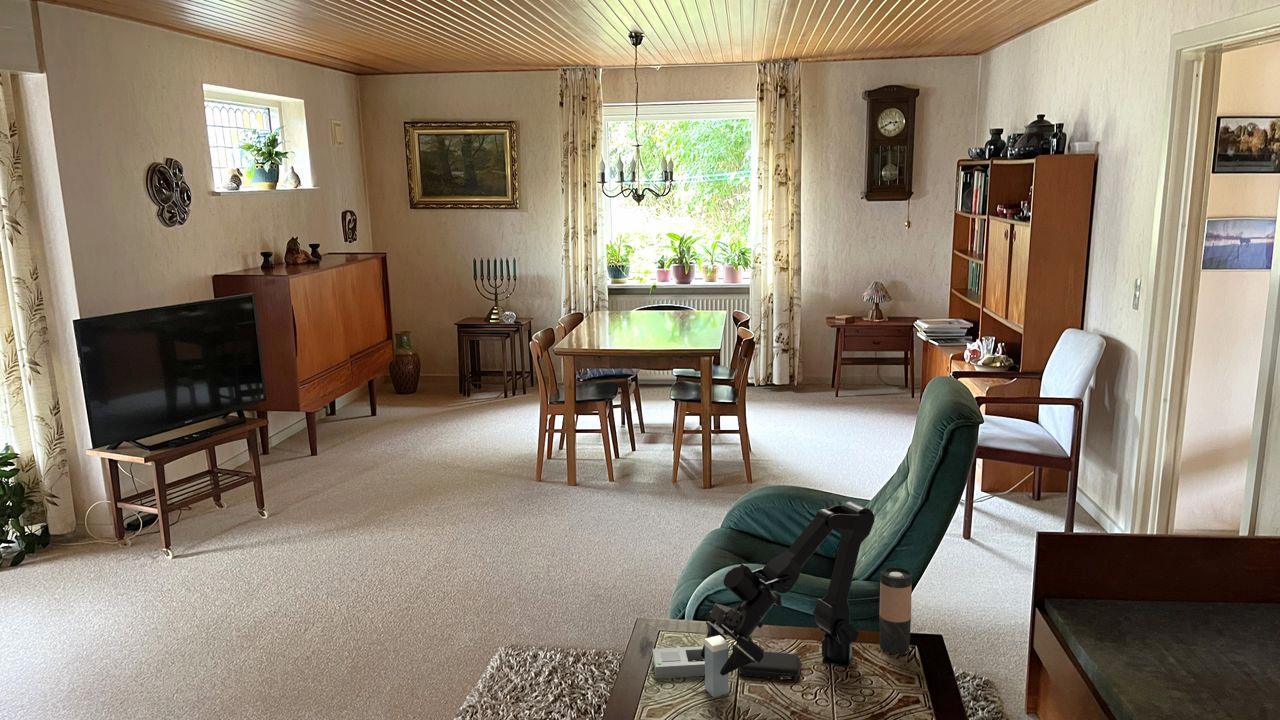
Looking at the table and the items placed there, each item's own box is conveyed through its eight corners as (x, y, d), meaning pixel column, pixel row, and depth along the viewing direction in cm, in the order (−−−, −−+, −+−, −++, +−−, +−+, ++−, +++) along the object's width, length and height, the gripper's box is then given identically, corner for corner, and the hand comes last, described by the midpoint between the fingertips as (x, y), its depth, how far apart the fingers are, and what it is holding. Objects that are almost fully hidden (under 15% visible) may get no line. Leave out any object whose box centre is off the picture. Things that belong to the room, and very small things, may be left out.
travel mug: (914, 655, 218) (916, 578, 215) (883, 655, 218) (884, 579, 215) (905, 640, 226) (907, 566, 223) (875, 641, 226) (876, 567, 223)
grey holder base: (714, 656, 219) (714, 645, 219) (720, 675, 211) (720, 663, 210) (652, 660, 218) (652, 648, 218) (656, 678, 210) (655, 666, 209)
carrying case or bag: (736, 680, 209) (799, 686, 206) (736, 668, 208) (799, 673, 205) (740, 658, 219) (800, 663, 216) (740, 647, 219) (801, 652, 215)
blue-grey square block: (720, 685, 206) (719, 635, 204) (728, 693, 202) (728, 642, 201) (705, 689, 204) (704, 638, 203) (713, 697, 201) (712, 646, 199)
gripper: (711, 577, 210) (670, 630, 207) (752, 607, 193) (708, 665, 190) (740, 602, 214) (700, 654, 212) (782, 634, 197) (740, 691, 195)
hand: (711, 665), depth 202 cm, fingers open, 9 cm apart
